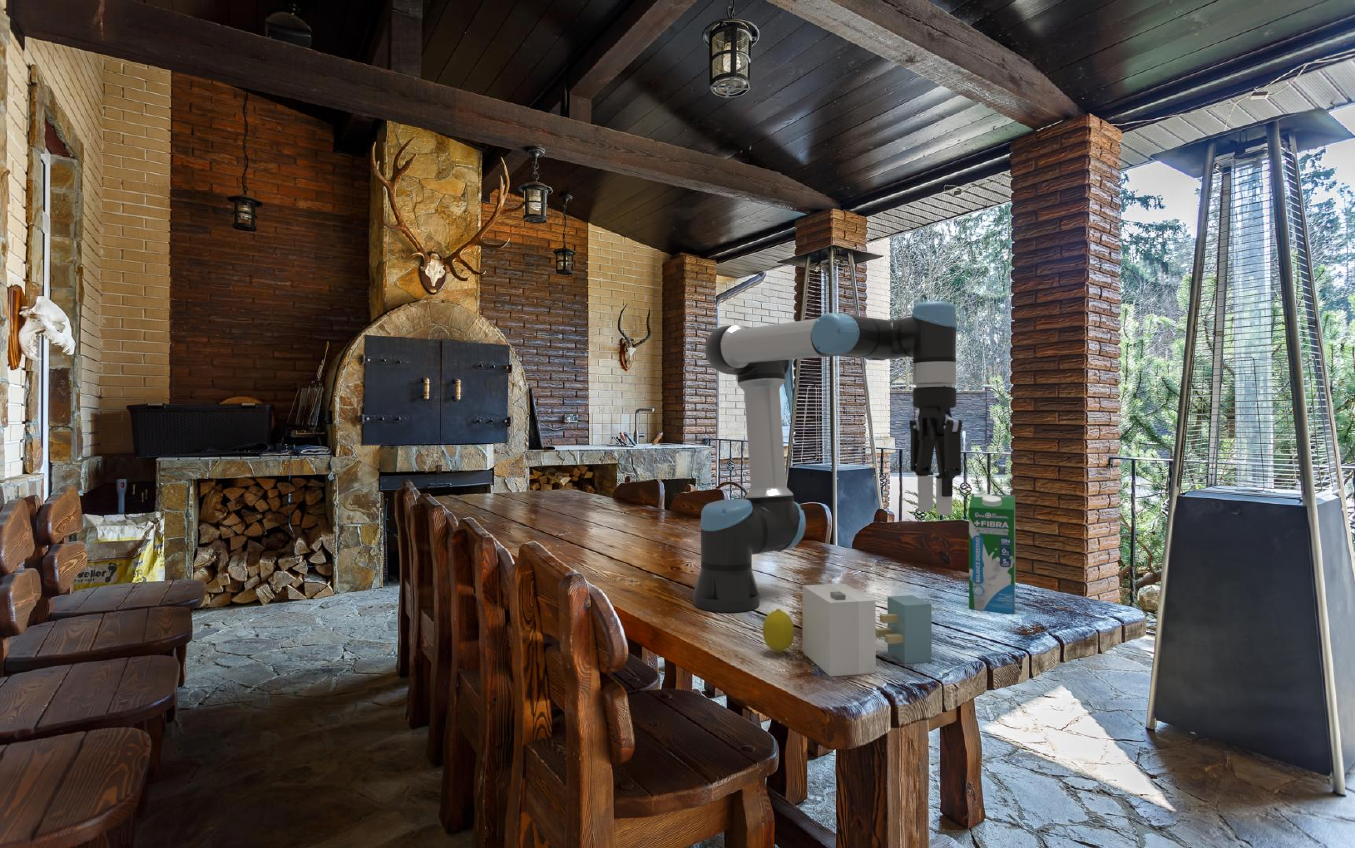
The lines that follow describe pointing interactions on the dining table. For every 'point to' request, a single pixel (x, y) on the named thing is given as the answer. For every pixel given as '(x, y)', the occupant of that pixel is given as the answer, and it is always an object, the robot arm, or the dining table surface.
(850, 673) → the socket
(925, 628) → the plug
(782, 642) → the lemon
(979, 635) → the dining table surface
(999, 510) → the milk carton
